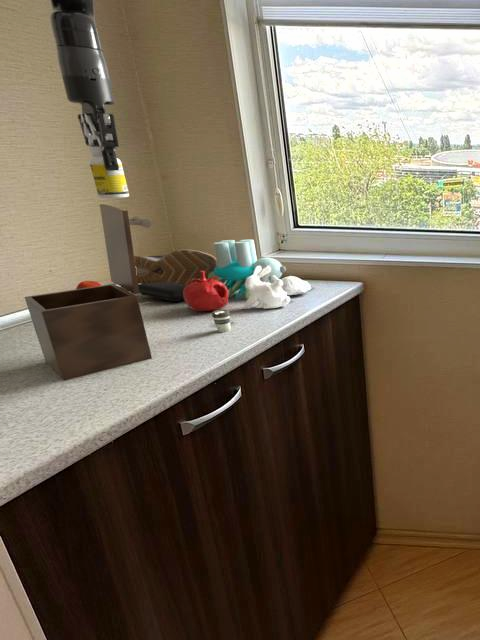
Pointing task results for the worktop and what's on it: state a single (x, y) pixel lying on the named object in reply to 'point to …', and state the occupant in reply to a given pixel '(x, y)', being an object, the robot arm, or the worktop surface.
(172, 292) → the carrying case
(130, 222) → the lid
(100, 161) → the supplement bottle
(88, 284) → the red rounded piece
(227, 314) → the grey ridged cylinder
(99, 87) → the robot arm
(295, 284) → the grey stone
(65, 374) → the chest
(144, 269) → the athletic shoe
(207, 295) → the pomegranate
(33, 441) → the worktop surface
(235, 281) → the toy
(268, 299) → the rabbit figurine
